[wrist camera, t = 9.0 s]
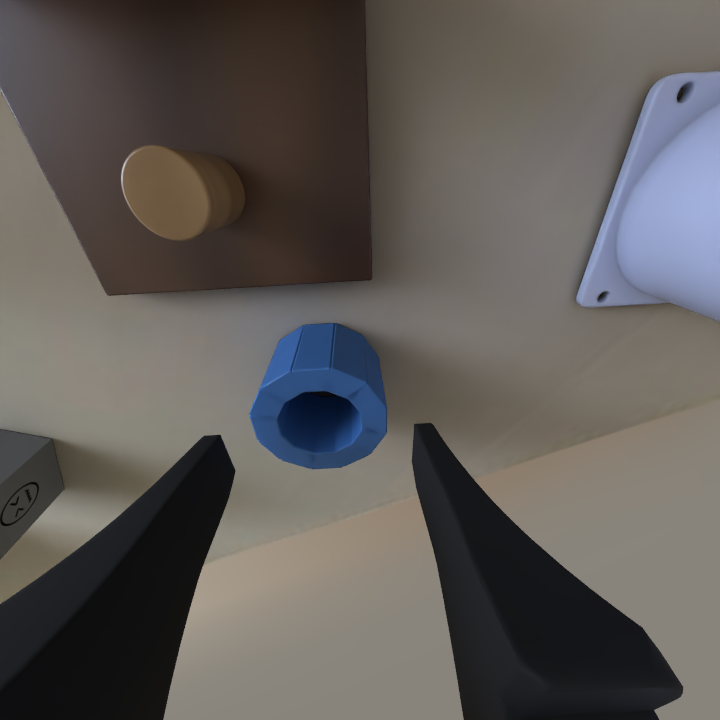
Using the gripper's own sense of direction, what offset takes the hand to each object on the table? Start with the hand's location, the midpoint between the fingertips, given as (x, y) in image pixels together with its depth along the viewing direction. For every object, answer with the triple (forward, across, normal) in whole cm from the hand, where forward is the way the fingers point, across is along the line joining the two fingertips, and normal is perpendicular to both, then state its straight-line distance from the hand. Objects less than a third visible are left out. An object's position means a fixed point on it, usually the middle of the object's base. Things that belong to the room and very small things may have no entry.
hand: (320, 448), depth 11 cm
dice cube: (+5, +20, +5) cm, 21 cm away
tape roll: (+5, 0, 0) cm, 5 cm away
